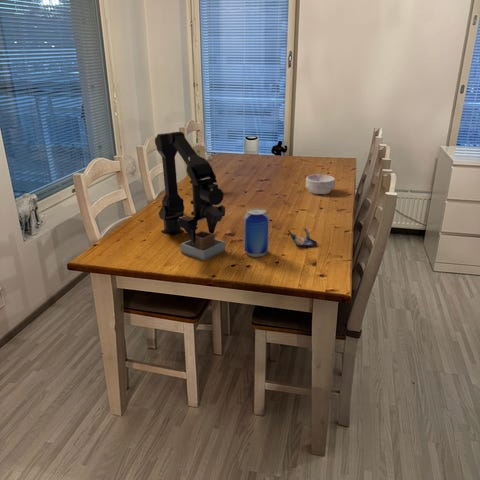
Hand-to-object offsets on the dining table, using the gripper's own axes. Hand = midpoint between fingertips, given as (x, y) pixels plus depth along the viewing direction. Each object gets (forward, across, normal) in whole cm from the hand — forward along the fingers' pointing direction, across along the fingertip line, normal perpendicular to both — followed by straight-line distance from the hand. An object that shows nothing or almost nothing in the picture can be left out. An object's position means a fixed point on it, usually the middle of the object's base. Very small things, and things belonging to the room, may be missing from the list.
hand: (202, 239), depth 158 cm
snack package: (+5, +30, -24) cm, 38 cm away
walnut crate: (+4, 0, 0) cm, 4 cm away
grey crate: (+5, 0, 0) cm, 5 cm away
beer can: (+5, +11, -16) cm, 20 cm away
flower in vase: (+5, +59, +55) cm, 81 cm away
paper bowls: (+5, +95, +5) cm, 95 cm away
